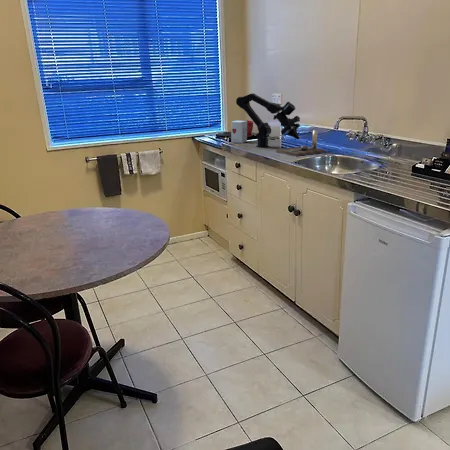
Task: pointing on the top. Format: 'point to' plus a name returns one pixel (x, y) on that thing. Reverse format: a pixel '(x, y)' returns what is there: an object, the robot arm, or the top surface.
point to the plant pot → (249, 128)
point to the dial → (314, 142)
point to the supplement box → (239, 131)
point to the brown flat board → (299, 151)
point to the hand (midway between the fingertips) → (298, 138)
